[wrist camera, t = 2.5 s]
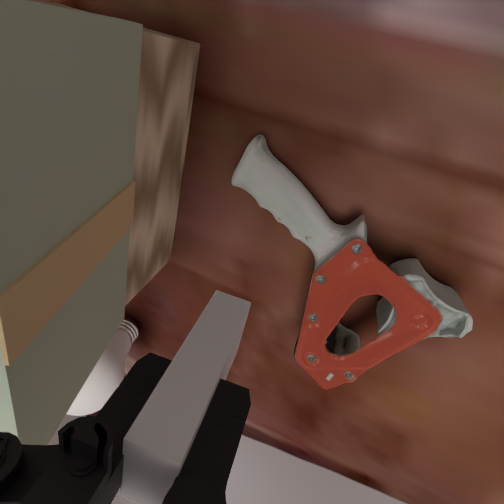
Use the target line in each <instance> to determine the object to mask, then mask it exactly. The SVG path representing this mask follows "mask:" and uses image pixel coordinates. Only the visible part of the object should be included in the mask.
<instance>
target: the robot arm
mask: <svg viewBox="0 0 504 504" xmlns="http://www.w3.org/2000/svg"><path fill="white" fill-rule="evenodd" d="M251 303H252V302H249V301H246V300H243V299H240V298H237V297H235V296H232V295H229V294H226V293H223V292H220V291H218V290H216V291H215V293H214V294H213V296H212V298H211V299H210V301H209V302H208V304H207V306H206V307H205V309H204V311H203V312H202V314H201V315H200V317H199V319H198V320H197V322H196V323H195V325H194V327H193V328H192V330H191V331H190V333H189V335H188V336H187V338H186V339H185V341H184V343H183V344H182V346H181V347H180V349H179V351H178V352H177V354H176V355H175V357H174V359H173V360H172V361H171V360H169V359H166V358H164V357H161V356H158V355H156V354H153V353H149V354H147V355H146V356H144V357H143V358H141V359H140V360H138V361H137V362H136V363H135V364H134V366H133V367H132V368H131V370H130V371H129V372H128V374H127V376H126V377H125V378H124V379H123V380H122V382H121V383H120V384H119V387H117V388H116V390H115V391H114V393H113V394H112V395H111V397H110V398H109V399H108V401H107V402H106V403H105V405H104V406H103V407H102V409H101V410H100V411H99V413H98V414H97V415H96V417H94V416H86V417H79V418H77V419H75V420H73V421H71V422H69V423H67V424H66V425H65V426H64V427H63V428H61V429H60V430H59V431H58V436H59V444H58V445H25V444H21V442H20V440H19V439H18V437H17V436H15V435H13V434H11V433H9V432H0V504H111V502H112V500H113V499H114V497H115V495H116V493H117V492H118V490H119V488H120V495H122V496H124V497H126V498H128V499H131V500H133V501H135V502H138V503H140V504H226V497H225V490H226V485H227V481H228V477H229V474H230V471H231V468H232V464H233V461H234V458H235V454H236V451H237V448H238V445H239V441H240V438H241V435H242V432H243V428H244V425H245V422H246V419H247V415H248V412H249V409H250V406H251V402H250V394H249V389H247V388H244V387H242V386H239V385H237V384H234V383H231V382H229V381H226V377H227V375H228V372H229V370H230V367H231V365H232V363H233V360H234V358H235V355H236V353H237V351H238V347H239V344H240V340H241V337H242V333H243V330H244V327H245V323H246V320H247V316H248V313H249V309H250V306H251Z"/></svg>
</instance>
